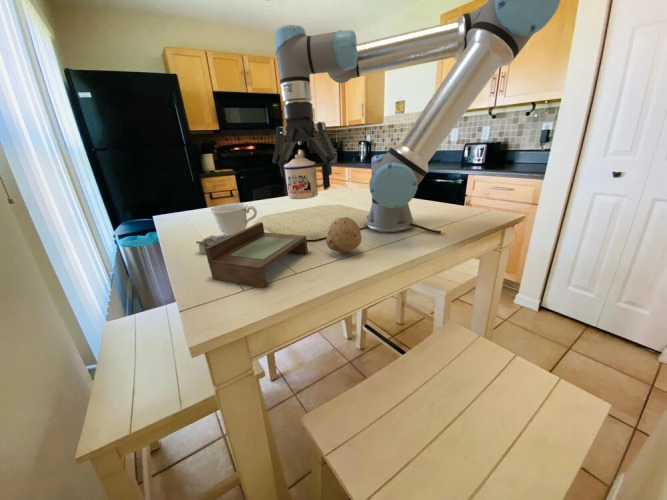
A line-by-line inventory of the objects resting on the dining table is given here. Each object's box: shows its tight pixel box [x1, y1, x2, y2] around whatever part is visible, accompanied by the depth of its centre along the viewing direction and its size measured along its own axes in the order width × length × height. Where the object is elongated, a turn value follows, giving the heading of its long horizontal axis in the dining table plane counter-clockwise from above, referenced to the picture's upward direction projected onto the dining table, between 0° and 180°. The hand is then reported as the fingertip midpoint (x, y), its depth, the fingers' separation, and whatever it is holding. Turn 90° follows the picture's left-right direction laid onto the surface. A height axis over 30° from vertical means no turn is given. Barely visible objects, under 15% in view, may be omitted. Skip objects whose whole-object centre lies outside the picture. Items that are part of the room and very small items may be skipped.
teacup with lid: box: [284, 153, 324, 200], centre depth 77 cm, size 12×9×12 cm
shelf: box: [205, 221, 309, 289], centre depth 68 cm, size 15×20×8 cm
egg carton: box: [195, 234, 233, 255], centre depth 82 cm, size 11×8×4 cm
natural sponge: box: [325, 216, 362, 255], centre depth 71 cm, size 9×9×10 cm
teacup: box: [209, 202, 258, 235], centre depth 92 cm, size 12×15×10 cm
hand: (307, 187), depth 78 cm, fingers closed on teacup with lid, 12 cm apart
